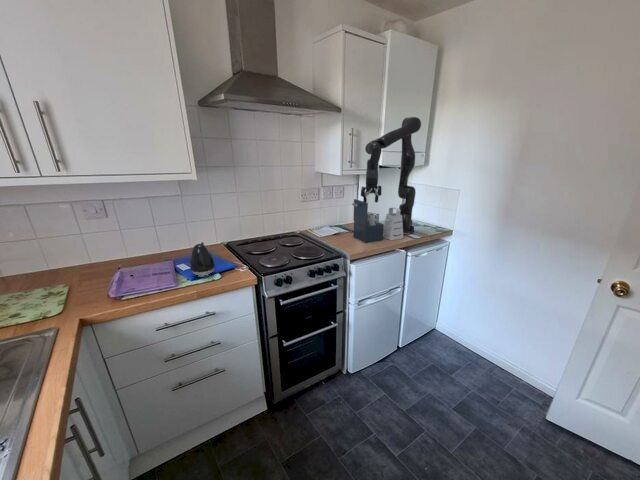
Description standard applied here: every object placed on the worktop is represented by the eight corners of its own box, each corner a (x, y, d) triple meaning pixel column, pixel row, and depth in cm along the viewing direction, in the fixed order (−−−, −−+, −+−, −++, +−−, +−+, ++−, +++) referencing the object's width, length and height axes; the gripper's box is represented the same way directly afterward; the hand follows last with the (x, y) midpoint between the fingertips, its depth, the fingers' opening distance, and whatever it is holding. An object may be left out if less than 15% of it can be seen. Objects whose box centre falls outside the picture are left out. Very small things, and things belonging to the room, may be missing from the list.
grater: (391, 240, 198) (393, 210, 191) (381, 236, 206) (383, 207, 199) (403, 238, 203) (406, 209, 196) (393, 234, 212) (395, 206, 204)
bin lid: (354, 198, 194) (348, 199, 191) (367, 202, 182) (360, 203, 180) (354, 220, 199) (347, 221, 197) (366, 225, 187) (360, 226, 185)
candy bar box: (378, 237, 200) (379, 213, 194) (374, 239, 196) (376, 215, 190) (363, 234, 205) (364, 211, 199) (360, 236, 202) (361, 212, 195)
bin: (369, 234, 210) (370, 219, 206) (382, 240, 198) (383, 224, 194) (353, 236, 203) (353, 221, 199) (365, 243, 191) (366, 226, 187)
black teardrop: (218, 269, 146) (213, 240, 140) (213, 278, 136) (208, 247, 131) (196, 270, 144) (190, 240, 139) (189, 279, 135) (182, 248, 129)
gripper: (365, 177, 180) (364, 204, 186) (384, 177, 187) (383, 202, 193) (359, 176, 186) (358, 202, 192) (377, 175, 192) (376, 201, 199)
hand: (370, 202), depth 192 cm, fingers open, 8 cm apart
